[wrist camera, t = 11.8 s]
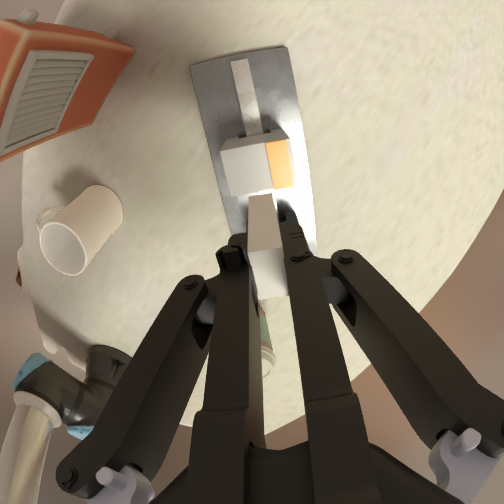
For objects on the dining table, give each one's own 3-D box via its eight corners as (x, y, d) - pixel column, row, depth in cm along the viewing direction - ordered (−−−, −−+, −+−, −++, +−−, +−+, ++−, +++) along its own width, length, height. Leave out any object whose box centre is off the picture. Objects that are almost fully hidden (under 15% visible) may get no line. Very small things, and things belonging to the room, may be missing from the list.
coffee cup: (239, 292, 48) (236, 347, 38) (281, 309, 50) (287, 363, 40) (218, 322, 52) (213, 374, 42) (258, 336, 54) (259, 387, 44)
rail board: (315, 250, 43) (328, 288, 36) (240, 262, 45) (238, 302, 37) (286, 48, 27) (297, 34, 20) (191, 66, 29) (171, 59, 21)
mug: (61, 213, 39) (21, 250, 29) (69, 169, 35) (22, 199, 25) (116, 241, 42) (84, 287, 32) (130, 197, 38) (93, 238, 28)
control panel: (61, 114, 30) (111, 27, 24) (92, 135, 33) (147, 45, 27) (-48, 157, 12) (1, 3, 6) (-15, 190, 15) (43, 17, 8)
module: (288, 165, 35) (298, 186, 28) (235, 174, 36) (230, 198, 29) (282, 128, 32) (291, 139, 25) (226, 138, 33) (219, 152, 26)
